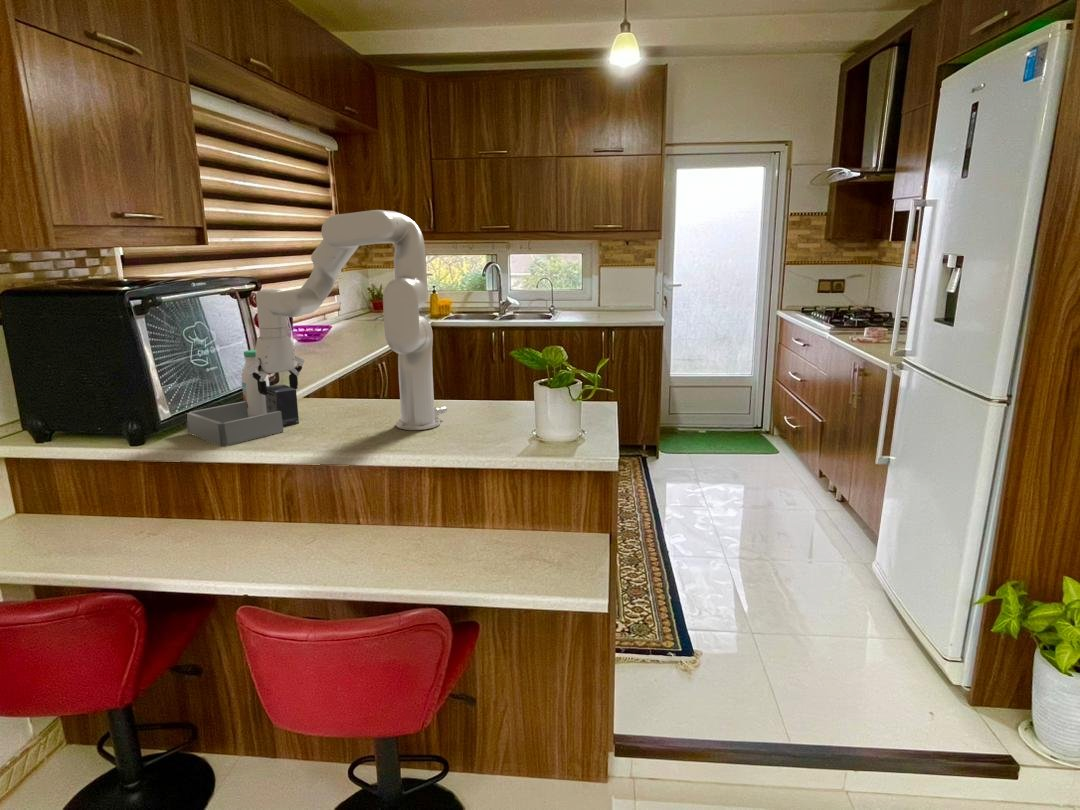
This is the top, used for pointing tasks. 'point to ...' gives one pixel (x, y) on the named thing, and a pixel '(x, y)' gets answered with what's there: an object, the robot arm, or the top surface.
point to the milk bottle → (252, 388)
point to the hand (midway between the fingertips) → (278, 391)
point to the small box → (283, 403)
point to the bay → (232, 424)
